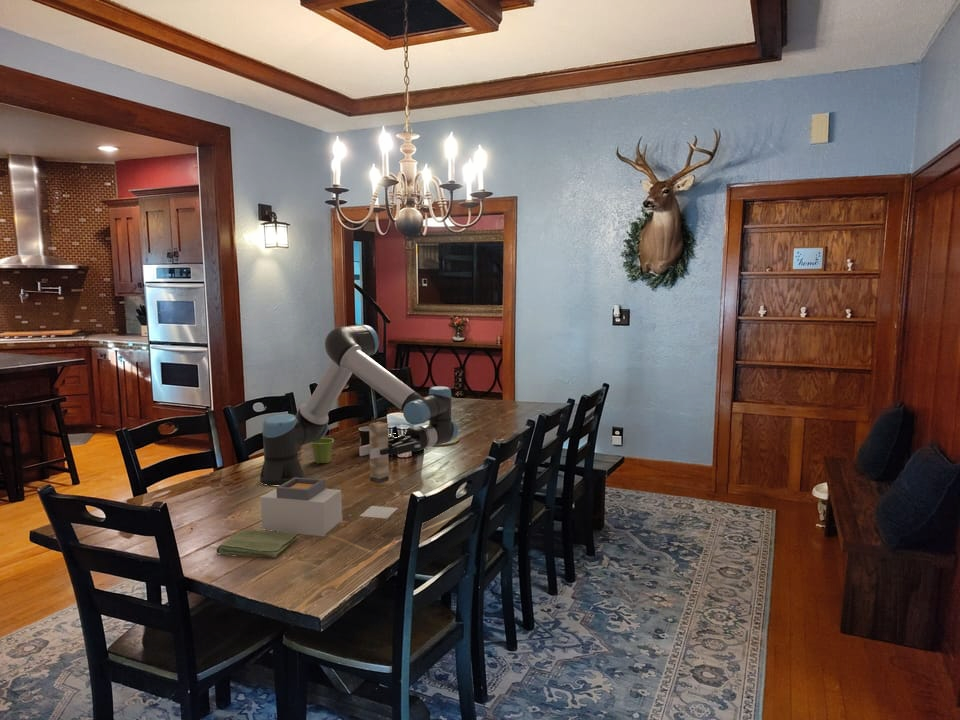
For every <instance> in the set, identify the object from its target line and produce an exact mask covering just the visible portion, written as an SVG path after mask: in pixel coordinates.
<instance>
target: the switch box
mask: <svg viewBox="0 0 960 720" xmlns="http://www.w3.org/2000/svg"><path fill="white" fill-rule="evenodd" d="M297 483H304V484H314V485H312V486H310V487H309V488H307V489H301V488H290V487H291V486H293V485H295V484H297ZM342 502H343V501H342V489H331V488H326V480H325V479H324V478H323V479H320V478H311V477H310V478H309V477H303V478H298V477H294V478H293V479H291V480H289V481H287V482H286V483H284V484H282V485H280V486H276V488H274V489H272V490H270V491H268V492H266V493H265V494H263V495H261V496H260V512H261V514H260V515H261V530H262V529H265V530H272V531H271V532H275V531H278V532H284V533H285V532H287V533H291V534H294V533H296V534H295V535H304V536H305V535H306V536H316V537H326V536H328V534H329V532H330V531H331V530H332V529H333V528H335V527H336V526H338V524H340V523H341V522H342V521H343V506H342V505H343V503H342ZM265 530H264V531H265Z"/></svg>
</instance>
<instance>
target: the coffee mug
mask: <svg viewBox="0 0 960 720" xmlns="http://www.w3.org/2000/svg"><path fill="white" fill-rule="evenodd" d="M358 432H359V443H360V447H361V446H365V445H369V444H370V432H369V425H368V426H362V427H359V428H358Z"/></svg>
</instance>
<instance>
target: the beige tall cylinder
mask: <svg viewBox="0 0 960 720" xmlns="http://www.w3.org/2000/svg"><path fill="white" fill-rule="evenodd" d="M368 426H369V432H370V449H374V448H378V447H382V446H386V445H387V446H388V435H389V423H387V422H382V421H377V422H371V423H369V425H368ZM389 469H390V468H389V454H387V455H384V456H380V457H377V458H373V459H370V458H369V481H370V482H373V483H375V484H384V483H386V482H389V481H390V480H389V479H390V477H389V476H390V475H389V474H390V473H389V471H390V470H389Z"/></svg>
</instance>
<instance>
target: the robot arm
mask: <svg viewBox="0 0 960 720" xmlns="http://www.w3.org/2000/svg"><path fill="white" fill-rule="evenodd" d="M379 346H380V341H379V336H378V334H377V331H376V330H374V328H373V327H372V326H370V325H366V324H355V325H348V326H347V325H346V326H338V327H335V328H333V329H332V330H330V331H329V332H328V333H327V335H326V337H325V340H324V349H325V352H326V354H327V356H328V358H330V359H331V362H330V363H329V365H328V367H327V368H326V370H325V372H324V374H323V376H322V378H321V379H320V381H319V382H318V384H317V386H316V388H315V390H314V391H313V393H312V394H311V396H310V398H309V399H308V401H307V402H306V403H302V404H300V406H299V408H298V410H297V412H296V413H295V415H294V414H291V413H280V414H275V415H272V416H269V417H268V418H266V419H265V420H264V421H263V422H262V432H261V433H262V443H263V444H262V445H263V459H264V460H263V464H262V468H261V472H260V474H259V482H261V483H263V484H267V485H282V484H284V483H286V482H287V481H289V480H291V479H293V478H294V477H298V478H304V471H303V468H302V465H301V463H300V460H299V455H298V453H299V452H298V447H302V446H305V445H309V444H311V443H312V442H315V441H318V440H319V439H321V438H325V436H326V435H327V432H328V430H329V424H328V423H329V412H331V410H332V407H333V406H334V404H335V402H336V401H337V399H338V397H339V396H340V395H341V393H342V391H343V390H344V388H345V386H346V384H347V383H348V381H349V380H350V378H351V376H352V374H354V375H355V376H356V377H357V378H358V379H360V380H362V381H363V382H364V383H365V384H367V385H368V386H369V387H370V388H372V389H373V390H374V391H376V392H377V393H378V394H380V396H382V397H384V398H385V399H386V400H387V401H389V402H390V403H392V404H393V405H394V406H395V407H397V408H398V409H399V410H401V411H402V413H403V418H404V419H405V421H406V422H407V423H408V424H410V425H413V426H414V425H418V426H417V427H412V428H409V429H408V430H407V431H405V432H404V433H405V435H400V436H398V437H394V435H391V434H389V435H390V436H388V446H387V445H386V446H382V447H378V448H374V449H370V444H369V445H365V446H361V445H360V446H359V450H358V451H359V456H360V457H362V456H367V455H369V460H370V459H373V458H377V457H380V456H384V455H387V454H388V455H393V454H394V455H395V456H399V455H403V454H406V453H410V452H419V451H421V450H428V449H429V448H431V447H436V446H435V445H439V444H444V443H450V442H451V441H452V442H453V441H455V440H454V439H455V438H456V437H458V434H459V428H458V426H457V422H455V421H454V420H453V419H452V403H453V402H452V400H453V398H452V390H451V388H450V387H448V386H443V385H442V386H439V385H437V386H432V387H430V388H429V390H428V395H427V396H425V397H424V396H422V395H421V394H419V393H418V392H416V391H415V390H414V389H412V388H411V387H409V386H408V385H407V384H405V383H404V382H403V381H402V380H401V379H399V378H398V377H396V376H395V375H394V374H393V373H391V372H390V371H388V370H387V369H386V368H384V367H383V366H382V365H380V364H379V363H378V362H376V361H375V360H374V359H373V358H372V356H373V355H375V354H376V353H377V351H378V349H379ZM426 422H429V424H428V423H427V424H424V423H426ZM421 424H422V425H421ZM423 424H424V425H423ZM261 483H260V484H261ZM263 484H262V485H263Z"/></svg>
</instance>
